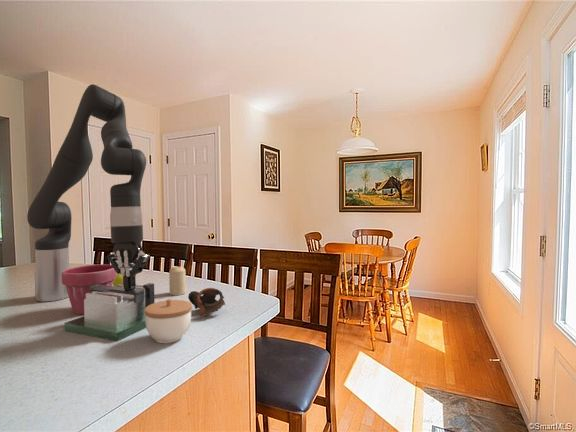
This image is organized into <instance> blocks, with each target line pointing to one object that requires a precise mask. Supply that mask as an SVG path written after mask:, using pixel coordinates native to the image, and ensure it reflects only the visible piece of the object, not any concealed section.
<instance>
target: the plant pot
mask: <svg viewBox="0 0 576 432" xmlns="http://www.w3.org/2000/svg"><path fill="white" fill-rule="evenodd" d="M116 275H117V273H116V272H115V270H114V268H113V267H112V265H111V264H108V263H107V264H106V263H105V264H89V265H80V266H74V267H69V269H66V270H63V271H62V284H63V285H66V289H67V293H68V296H69V297H68V299H69V303H70V305H71V306H70V307H71V310H72V313H74V314H76V315H84V299H86V293H88V291H89V290H91V289H90V286H93V285H97V284H101V285H108V286H113V280H114V279H115V278H116ZM103 292H104V293H107V292H106V291H103Z"/></svg>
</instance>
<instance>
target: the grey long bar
mask: <svg viewBox="0 0 576 432" xmlns="http://www.w3.org/2000/svg"><path fill="white" fill-rule="evenodd" d="M90 289H91V290H99V291H106V292H114V293H122V294H129V295H134V303H138V302H141V301H144V290H140V289H134V290H130V291H127V290H124V287H116V286H113V285H112V286H108V285H101V284H97V285H93V286H90Z"/></svg>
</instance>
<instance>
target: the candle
mask: <svg viewBox="0 0 576 432" xmlns="http://www.w3.org/2000/svg"><path fill="white" fill-rule="evenodd" d="M168 273H169V276H168V277H169V279H168V280H169V295H170V296H182V295H185V294H186V292H187V291H186V284H187V283H186V280H187V279H186V268H185V267H183V266H182V265H181V266H177V265H176V266H175V265H174V266H172V267H171V268H170V269H169V272H168Z"/></svg>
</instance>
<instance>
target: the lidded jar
mask: <svg viewBox="0 0 576 432" xmlns="http://www.w3.org/2000/svg"><path fill="white" fill-rule="evenodd" d="M192 309H193V304H192V303H191V302H190V301H189V300H188V301H187V300H183V299H182V300H181V299H171V298H168V299H166V300H161V301H157V302H154V303H153V304H151V305H149V306H147V307H146V308H145V322H146V327H147V328H146V330H147V332H148V334H149V336H151V338H152V339H154V340H155V342H157V343H160V344H169V343H175V342H177V341H180V340H181V339H182V338H183V335H185V334H186V332H187V331H188V330H189V328H190V325H191V322H192Z"/></svg>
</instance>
